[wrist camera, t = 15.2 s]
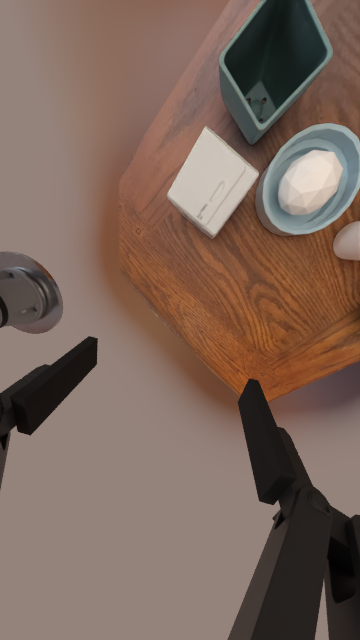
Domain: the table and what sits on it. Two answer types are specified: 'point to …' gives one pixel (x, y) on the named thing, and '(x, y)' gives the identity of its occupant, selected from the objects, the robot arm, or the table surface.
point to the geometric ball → (309, 182)
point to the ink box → (211, 183)
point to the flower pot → (271, 63)
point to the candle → (348, 242)
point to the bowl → (331, 137)
